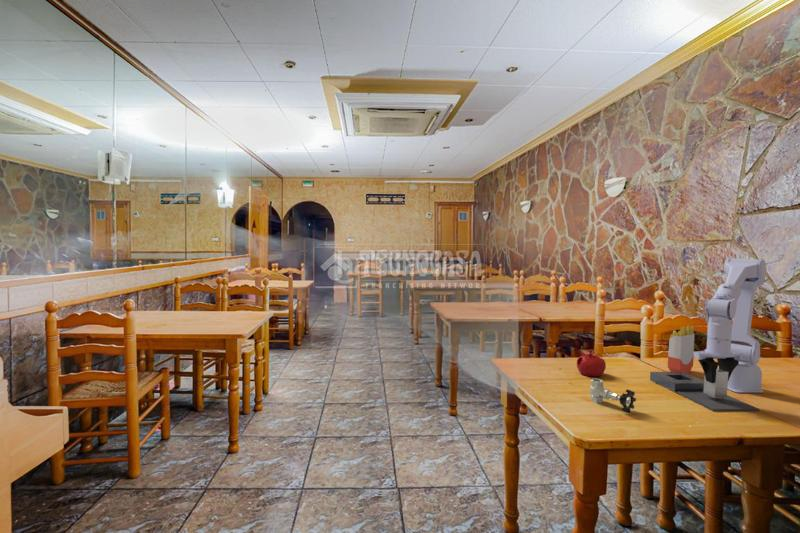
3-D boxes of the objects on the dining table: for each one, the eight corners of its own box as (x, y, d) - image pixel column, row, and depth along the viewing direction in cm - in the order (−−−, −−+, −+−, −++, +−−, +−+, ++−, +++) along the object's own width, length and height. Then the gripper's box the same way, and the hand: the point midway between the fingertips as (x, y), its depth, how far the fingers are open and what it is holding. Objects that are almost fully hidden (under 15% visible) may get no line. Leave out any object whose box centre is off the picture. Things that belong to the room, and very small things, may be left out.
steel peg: (715, 392, 123) (716, 367, 123) (726, 397, 119) (728, 371, 119) (703, 392, 123) (704, 367, 122) (714, 397, 119) (716, 372, 118)
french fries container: (666, 372, 149) (668, 326, 148) (679, 368, 155) (681, 323, 154) (679, 376, 145) (681, 328, 144) (693, 371, 151) (695, 325, 150)
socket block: (682, 380, 141) (682, 371, 141) (710, 392, 129) (710, 383, 129) (650, 380, 140) (650, 371, 140) (674, 392, 128) (675, 383, 128)
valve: (583, 401, 120) (623, 415, 110) (584, 380, 120) (624, 392, 110) (596, 397, 124) (635, 410, 113) (597, 376, 123) (636, 388, 113)
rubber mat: (718, 393, 128) (718, 391, 128) (759, 411, 114) (759, 408, 114) (677, 393, 127) (677, 391, 127) (713, 411, 113) (713, 409, 113)
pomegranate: (609, 374, 146) (610, 350, 146) (599, 380, 139) (600, 354, 139) (582, 368, 153) (583, 345, 153) (571, 373, 147) (572, 349, 146)
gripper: (728, 335, 124) (726, 377, 125) (686, 335, 123) (684, 378, 124) (750, 340, 117) (748, 384, 118) (705, 340, 116) (703, 385, 117)
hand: (716, 381), depth 120 cm, fingers closed on steel peg, 4 cm apart
